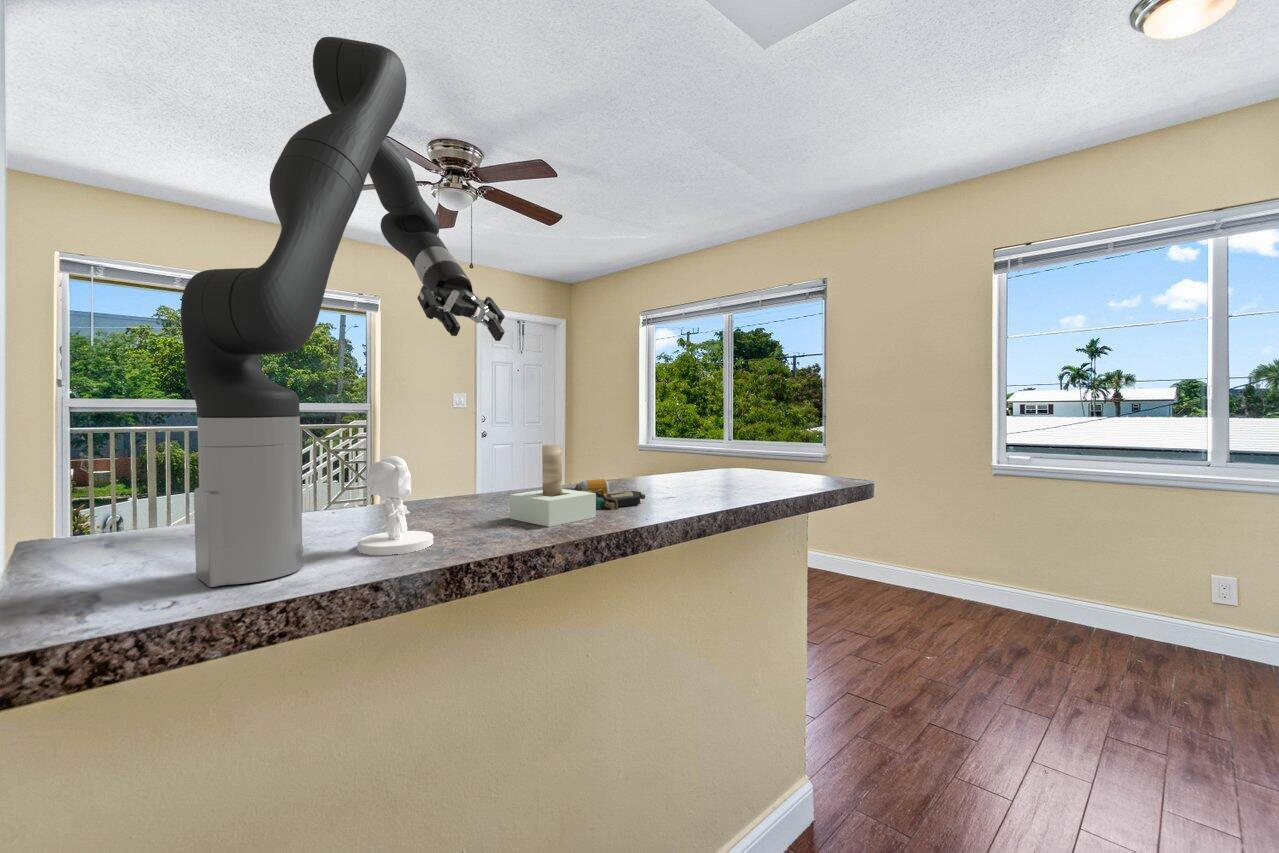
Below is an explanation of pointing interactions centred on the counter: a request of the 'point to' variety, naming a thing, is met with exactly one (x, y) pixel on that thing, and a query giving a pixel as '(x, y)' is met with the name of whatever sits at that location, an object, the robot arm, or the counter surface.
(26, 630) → the counter surface
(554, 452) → the peg
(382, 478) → the figurine
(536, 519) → the socket block
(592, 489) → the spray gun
